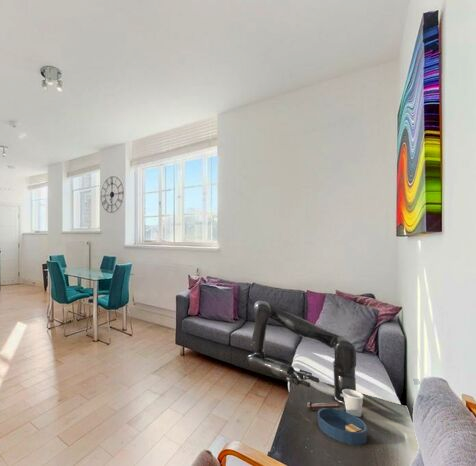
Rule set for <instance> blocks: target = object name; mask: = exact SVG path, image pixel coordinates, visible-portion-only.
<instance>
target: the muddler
mask: <svg viewBox="0 0 476 466" xmlns="http://www.w3.org/2000/svg"><path fill="white" fill-rule="evenodd" d="M306 407H307V408H308V410H309V411H315V410H317V409H318V410H320V409H323V408H334V409H340V408H342V404H341V403H339V402H338V401H335V402H334V401H333V402H316V403H313V402H312V401H308V402H307V403H306Z"/></svg>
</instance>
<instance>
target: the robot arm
mask: <svg viewBox="0 0 476 466" xmlns="http://www.w3.org/2000/svg"><path fill="white" fill-rule="evenodd" d="M253 312H254V328H253V332H252V336H251V344H250V349H251V350H252V351H253V353H250V354H249V355H247V357H246V362H247V364H248V366H250V367H252V368H254V369H257V370H261V371H266V372H268V373H271V374H273V375H275V376H277V377H279V378H282V379H284V380H286V382H289V383H291V384H293V385H295V386H304V387H306V388H311V382H308V381H307V380H309V381H310V380H311V381H312V382H315V383H318V384H319V383H320V378H319V377H316V376H314V375H313V373H312V372H310V371H307V370H304V369H299V370H295V368H294V367H293V366H291V365H289V364H286V363H284V362H281V361H278V360H275V359H272V358H267V357H266V356H265V355H266V354H265V343H266V334H267V327H268V323H269V320H274V321H276V322H277V323H278V324H280V325H282V327H284V328H286V329H287V330H289V331H290V332H291V333H294V334H295V335H298V336H300V337H302V338H305V339H308V340H312V341H316V342H318V343H321V344H323V345H325V346H327V347H329V348H331V350H333V351H334V360H333V361H332V364H333V365H332V369H333V371H332V372H333V388H334V389H333V390H334V391H333V392H334V397H333V398H334V400H335V402H339V403H340V404H341V405H344V406H345V401H344V396H343V392H342V390H344V389H351V390H355V391H357V381H356V379H357V378H356V367H357V349H356V347H355V345H354V344H353V343H352V342H351V341H350V340H349V339H348V338H346V337H345V336H342V335H339V334H336V333H333V332H330V331H329V330H326V329H323V328H321V327H320V326H318V325H316V324H314V323H312V322H310V321H308V320H306V319H304V318H302V317H299V316H296V315H294V314H292V313H291V312H287V311H284V310H282V309H280V308H278V307H276V306H275V305H273V304H271V303H269V302H267V301H265V300H257V301H256V302H255V303H254V305H253Z"/></svg>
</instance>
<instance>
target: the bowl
mask: <svg viewBox="0 0 476 466" xmlns="http://www.w3.org/2000/svg"><path fill="white" fill-rule="evenodd" d="M350 424H353V425H355V426H356V427H358V428H360V429H361V430H362V431H360V432H349V431H346V427H345V426H347V425H350ZM317 425H318V428H319V429H320V430H321V432H323V433H324V434H325V435H327V437H329V438H332V439H333V440H336V441H338V442H340V443H343V444H348V445H350V446H351V445H352V446H353V445H354V446H360V445H365V444H366V443H367V442H368V425H366V423H365V422H364V420H362V419H361V418H360V417H359V416H355V415H353V414H350V413H348V412H346V410H342V409H340V408H320V409H318V411H317Z"/></svg>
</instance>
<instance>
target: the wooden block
mask: <svg viewBox="0 0 476 466" xmlns="http://www.w3.org/2000/svg"><path fill="white" fill-rule="evenodd" d="M345 427H346V431H349V432H360V431H362V430H361V429H360V428H358V427H356V426H355V425H353V424H350V425H347V426H345Z"/></svg>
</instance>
